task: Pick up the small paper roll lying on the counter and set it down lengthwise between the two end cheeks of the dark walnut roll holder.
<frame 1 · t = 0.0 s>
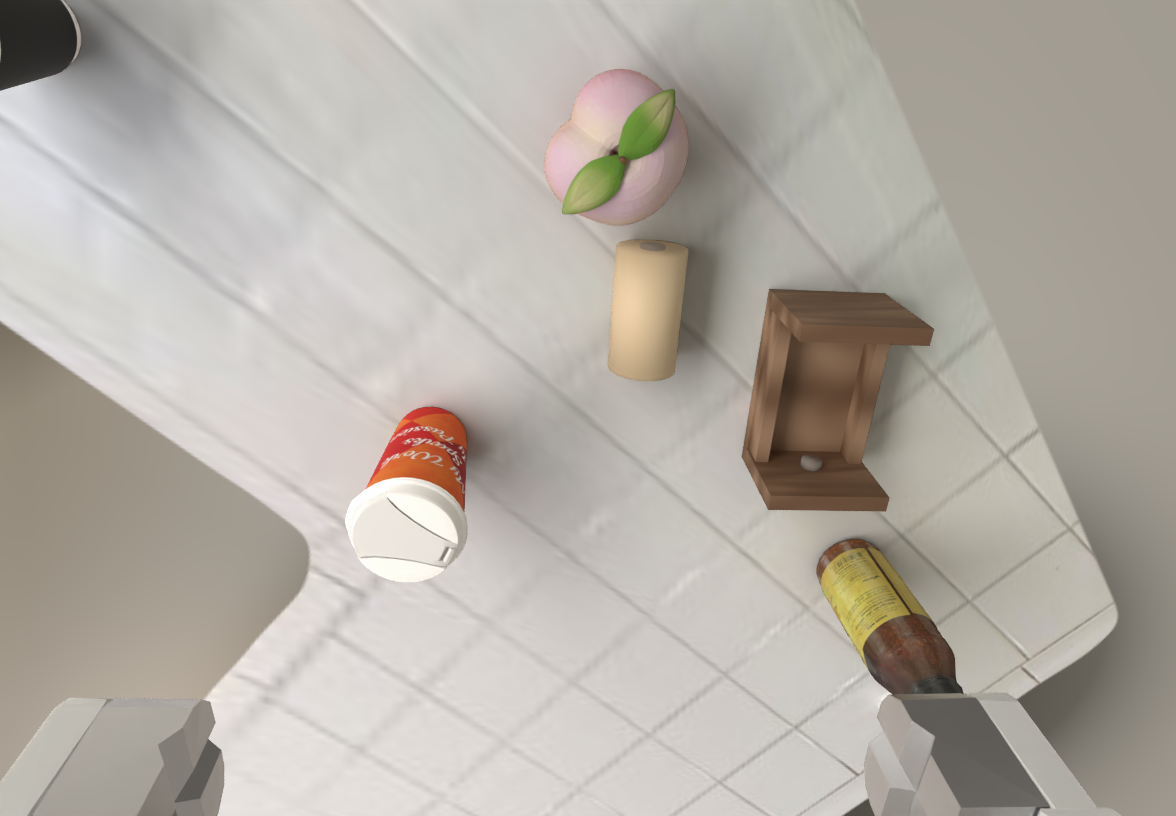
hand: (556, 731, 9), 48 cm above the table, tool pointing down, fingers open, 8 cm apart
holder: (810, 378, 61), on the table
dixie cup: (41, 28, 47), on the table
decorative fruit: (612, 143, 52), on the table
paper cup: (431, 436, 61), on the table
sauce bottle: (848, 562, 69), on the table
roll: (642, 299, 57), on the table
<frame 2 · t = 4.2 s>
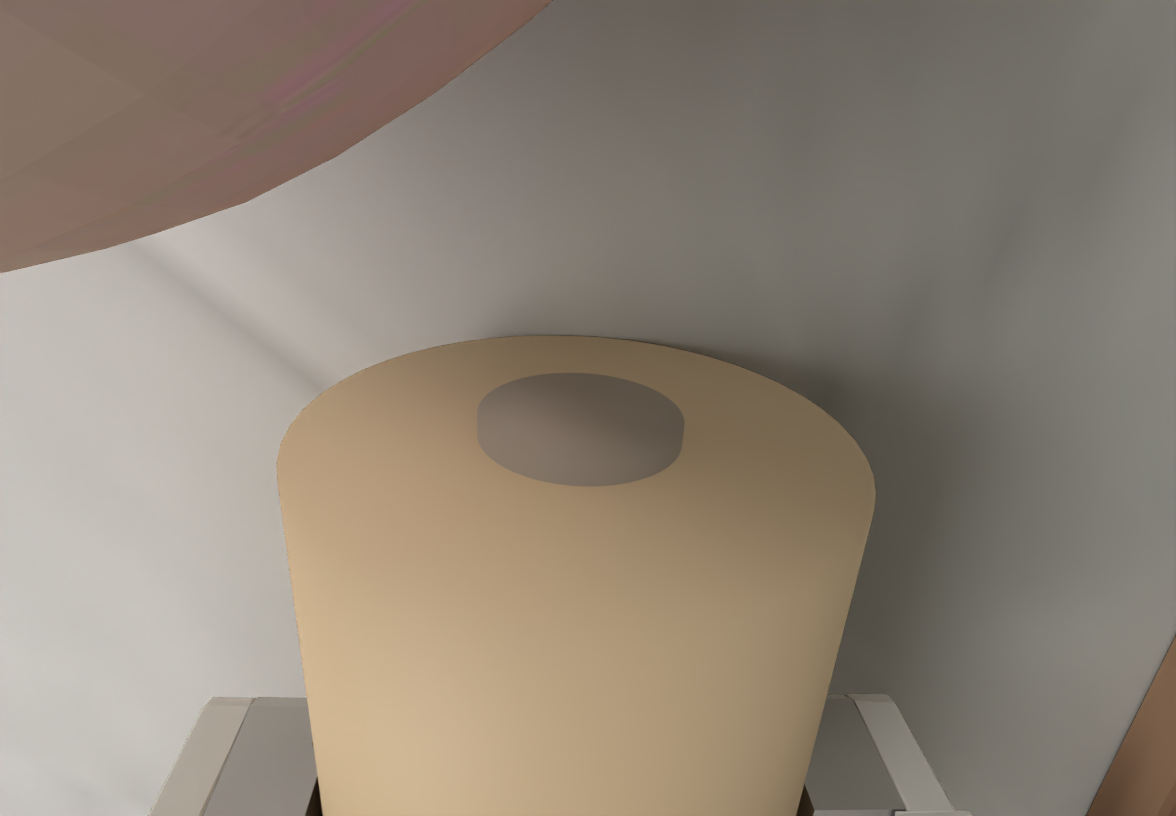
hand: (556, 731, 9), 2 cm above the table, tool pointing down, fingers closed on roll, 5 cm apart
roll: (556, 632, 11), on the table, touching gripper
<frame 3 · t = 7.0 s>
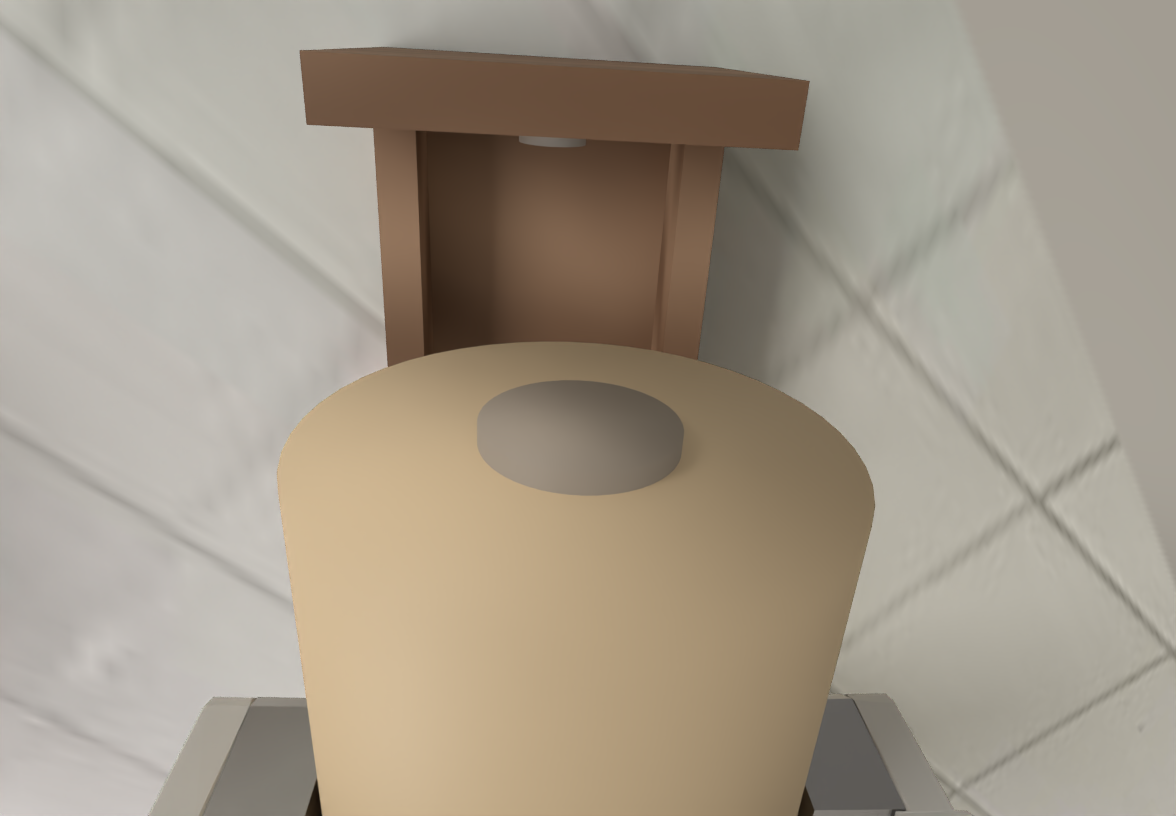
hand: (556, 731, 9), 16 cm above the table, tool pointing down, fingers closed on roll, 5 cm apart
holder: (543, 311, 24), on the table
roll: (556, 637, 11), point 14 cm above the table, touching gripper
when the fingers open (5 cm above the table, at t = 9.7 s): roll drops 2 cm, resting on holder.
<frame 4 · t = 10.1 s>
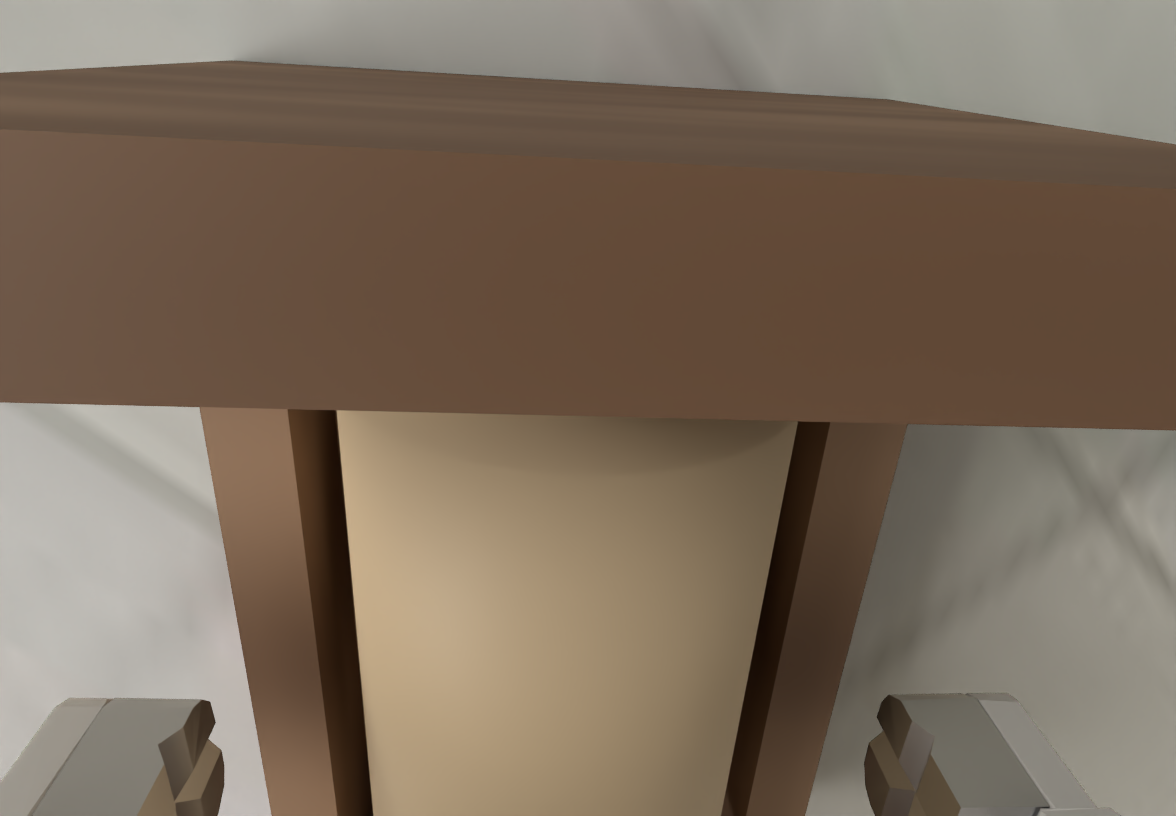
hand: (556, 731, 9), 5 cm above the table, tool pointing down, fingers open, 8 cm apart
holder: (551, 522, 14), on the table
roll: (552, 557, 13), point 1 cm above the table, touching holder
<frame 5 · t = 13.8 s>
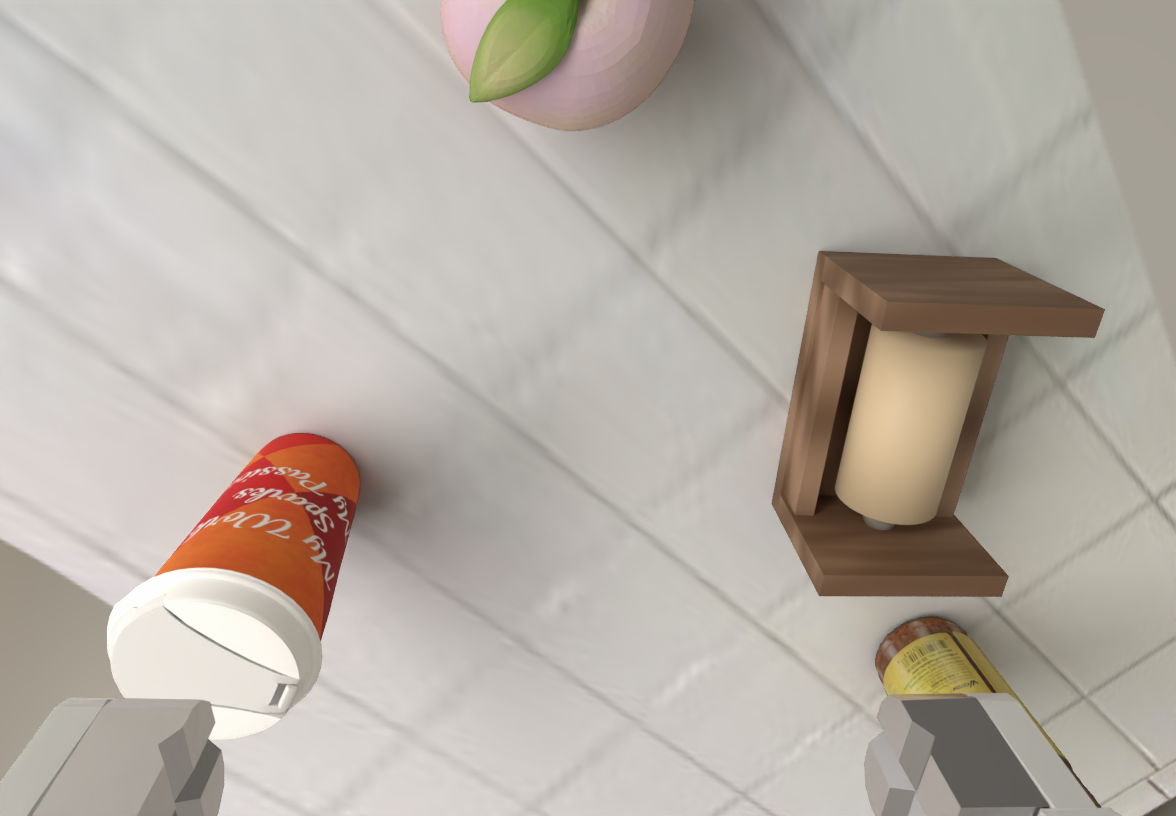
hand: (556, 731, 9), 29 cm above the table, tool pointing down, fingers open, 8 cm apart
holder: (876, 389, 40), on the table
decorative fruit: (569, 6, 32), on the table
paper cup: (307, 476, 41), on the table
sauce bottle: (919, 647, 49), on the table
roll: (883, 397, 40), point 1 cm above the table, touching holder
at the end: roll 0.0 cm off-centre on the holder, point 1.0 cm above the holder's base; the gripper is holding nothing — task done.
